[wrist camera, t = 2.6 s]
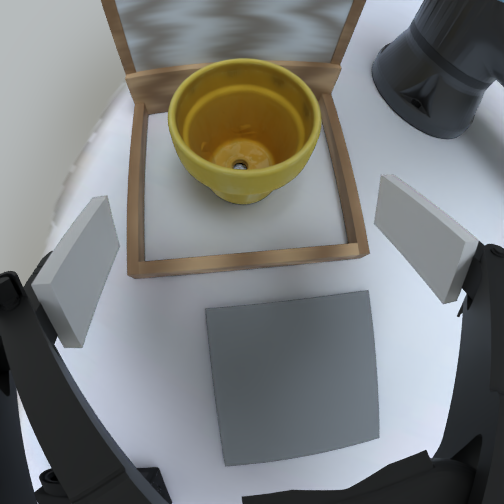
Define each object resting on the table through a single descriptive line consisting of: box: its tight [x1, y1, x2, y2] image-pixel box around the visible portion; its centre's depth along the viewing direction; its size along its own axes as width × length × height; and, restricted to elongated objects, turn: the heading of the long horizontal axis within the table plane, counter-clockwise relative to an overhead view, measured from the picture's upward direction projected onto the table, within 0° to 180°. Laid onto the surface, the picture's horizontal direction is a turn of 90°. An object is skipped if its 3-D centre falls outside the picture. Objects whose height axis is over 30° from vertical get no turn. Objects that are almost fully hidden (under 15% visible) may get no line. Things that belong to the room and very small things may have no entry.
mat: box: [206, 290, 379, 466], centre depth 24 cm, size 14×14×1 cm
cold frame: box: [101, 0, 370, 279], centre depth 20 cm, size 20×19×18 cm
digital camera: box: [34, 467, 172, 504], centre depth 18 cm, size 10×5×7 cm, turn 102°
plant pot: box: [168, 58, 321, 204], centre depth 24 cm, size 10×10×10 cm
